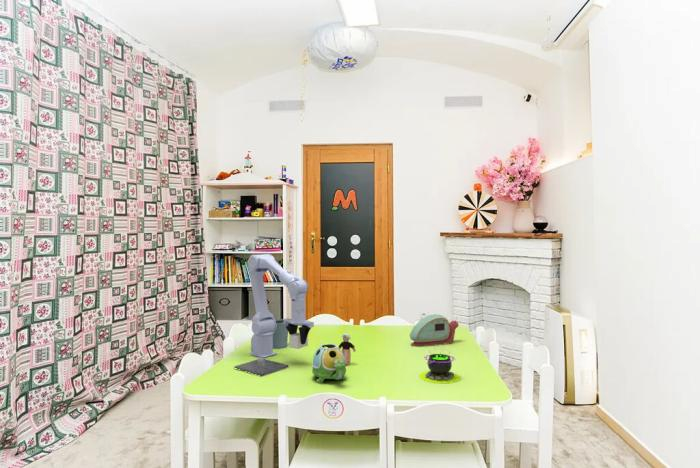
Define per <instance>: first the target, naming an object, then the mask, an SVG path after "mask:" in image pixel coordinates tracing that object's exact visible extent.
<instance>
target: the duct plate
mask: <svg viewBox="0 0 700 468" xmlns="http://www.w3.org/2000/svg"><path fill="white" fill-rule="evenodd" d="M289 367H290V366H289V364H288V363H282V362H278V361H274V360H271V359H270V360H269V359H266V357H265V358H262V357H258V356H257V359H255V360H250V361H248V362H245V363H240V364H237V365H235V366H233V369H234V368H237V369H240V370H243V371H242V372H244V371H247V372H246V373H248V372H250V373H249V374H251V373H253V374H252V375H255V374H256V375H255V376H258V375H260V376H259V377H263V376H264V377H265V376H267V375H270V374H272V373H276V372H279V371H282V370H285V369H287V368H289ZM237 369H236V370H237ZM240 370H239V371H240Z"/></svg>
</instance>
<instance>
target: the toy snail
mask: <svg viewBox="0 0 700 468" xmlns="http://www.w3.org/2000/svg"><path fill="white" fill-rule="evenodd" d="M457 319H458V317H457V316H456V317H455V320H451V321H450V322H449V320H448V318H447V317H445V316H444V315H441V314H430V315H429V314H428V315H427V316H425V317H424V318H422V319H420V320H419V321H418V322H417V323H416V324H415V325H414V326H413V327H412V329H411V331H410V334H409V337H410V340H412V341H413V342H411V343H410V346H411V347H425V346H424V345H430V346H436V345H435V344H441V345H445V344H444V343H449V344H452V343H453V342H454V340H455V334H456V330H457V328H458V327H459V326H460V325H459V322H458V321H457ZM451 342H452V343H451Z"/></svg>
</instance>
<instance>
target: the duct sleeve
mask: <svg viewBox="0 0 700 468" xmlns="http://www.w3.org/2000/svg"><path fill="white" fill-rule="evenodd" d="M308 338H309V334H308V335H307V339H306V343H305V344H301V338H300V332H297V333H295V334H292V335H290V334H288V339H289V341H288V344H289V346H288V347H289V348H291V349H296V350H300V349H302V348H304V347H308V346H309V339H308Z"/></svg>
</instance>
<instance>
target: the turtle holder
mask: <svg viewBox="0 0 700 468" xmlns="http://www.w3.org/2000/svg"><path fill="white" fill-rule="evenodd" d="M338 347H339V346H338V345H336V344H335V343H324V344H321V345H320V346H319V347H318V348H317V349H316V351H315V352H314V354H313V358H312V363H311V366H312V370H311V371H312V374H313V376H314V377H315V378H317V379H316V382H317V383H318V384H323V383H324V380H325V379H327V380H336V381H337V380H342V381H345V380H346V379H347V378H348V377H347V376H346V373H347V365H346V361H345V358H344V355H343V353H342V349H339V348H338Z"/></svg>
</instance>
